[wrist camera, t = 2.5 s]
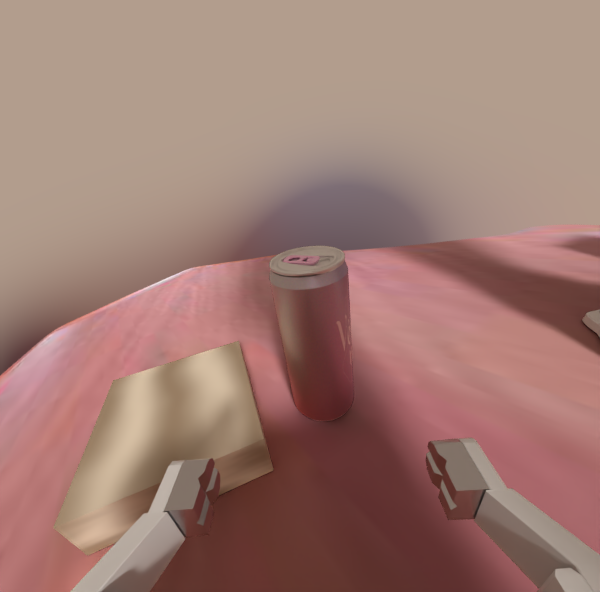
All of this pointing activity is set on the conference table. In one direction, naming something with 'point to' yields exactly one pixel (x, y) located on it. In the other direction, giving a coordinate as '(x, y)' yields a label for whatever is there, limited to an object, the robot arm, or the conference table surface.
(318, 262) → the beverage can
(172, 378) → the ash base block
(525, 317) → the conference table surface
